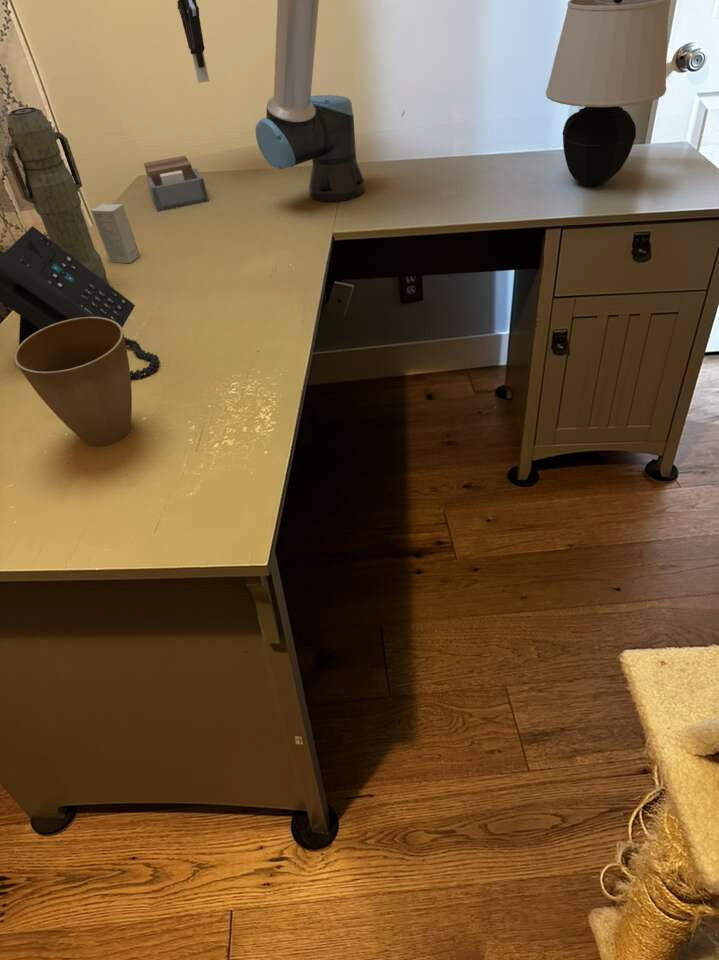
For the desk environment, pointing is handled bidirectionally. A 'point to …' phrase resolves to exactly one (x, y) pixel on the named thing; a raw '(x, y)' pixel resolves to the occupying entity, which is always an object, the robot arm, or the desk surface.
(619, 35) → the table lamp
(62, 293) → the office phone
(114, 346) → the plant pot
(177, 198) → the box
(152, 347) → the desk surface
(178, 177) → the cream tile
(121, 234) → the skincare box
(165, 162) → the brown block
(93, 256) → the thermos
